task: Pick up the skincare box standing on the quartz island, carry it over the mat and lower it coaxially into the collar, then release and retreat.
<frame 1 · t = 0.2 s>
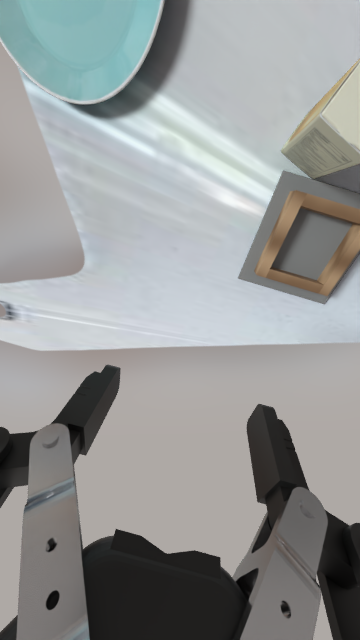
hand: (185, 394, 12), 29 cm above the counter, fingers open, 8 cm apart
mat: (305, 245, 32), on the counter
collar: (309, 247, 31), on the mat
skincare box: (308, 148, 27), on the counter
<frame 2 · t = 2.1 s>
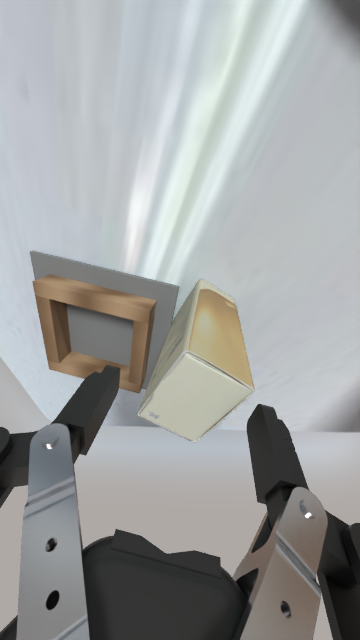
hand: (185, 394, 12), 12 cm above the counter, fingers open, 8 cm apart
mat: (104, 330, 25), on the counter
collar: (98, 338, 24), on the mat
skincare box: (202, 309, 22), on the counter
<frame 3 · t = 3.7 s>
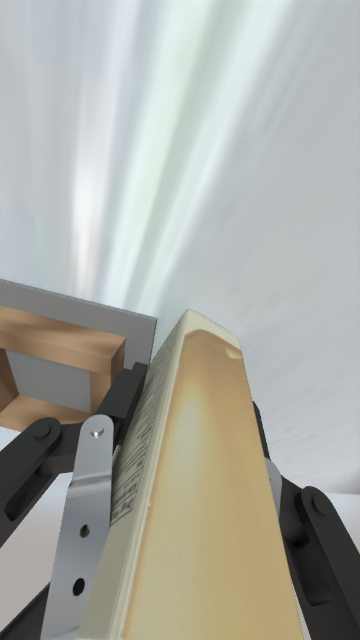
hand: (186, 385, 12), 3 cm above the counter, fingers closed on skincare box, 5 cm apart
mat: (59, 371, 18), on the counter
collar: (47, 385, 17), on the mat
skincare box: (192, 348, 15), on the counter, touching gripper
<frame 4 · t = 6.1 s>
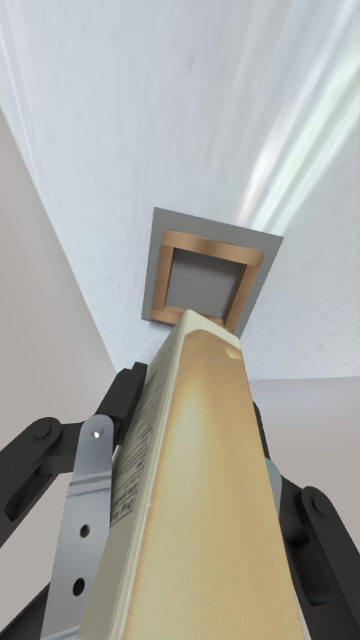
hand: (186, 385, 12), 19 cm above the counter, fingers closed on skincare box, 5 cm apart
mat: (202, 283, 29), on the counter
collar: (201, 287, 27), on the mat
skincare box: (192, 348, 15), point 16 cm above the counter, touching gripper
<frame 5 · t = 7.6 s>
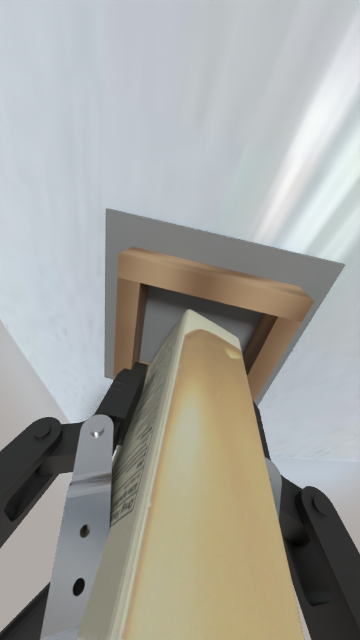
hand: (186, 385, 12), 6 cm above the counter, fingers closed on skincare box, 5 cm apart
mat: (195, 332, 18), on the counter
collar: (193, 343, 16), on the mat
skincare box: (192, 348, 15), point 3 cm above the counter, touching gripper
when the fingers open (5 cm above the counter, at t = 8.6 s): skincare box drops 1 cm, resting on mat.
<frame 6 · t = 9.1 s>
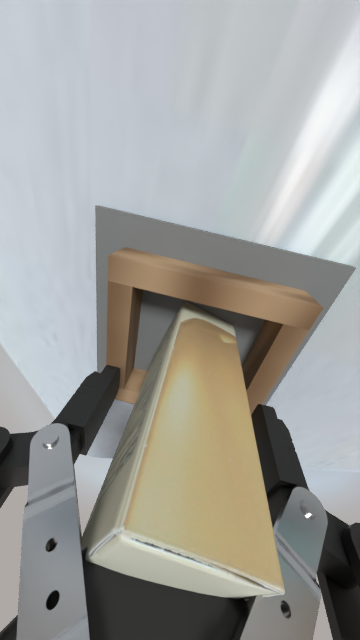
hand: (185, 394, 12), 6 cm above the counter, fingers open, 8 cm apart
mat: (193, 338, 17), on the counter
collar: (191, 351, 15), on the mat
skincare box: (191, 339, 16), resting on mat
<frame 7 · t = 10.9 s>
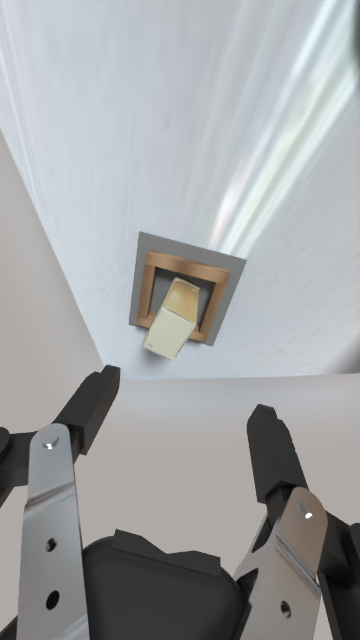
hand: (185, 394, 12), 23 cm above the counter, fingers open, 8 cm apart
mat: (181, 294, 34), on the counter
collar: (179, 298, 32), on the mat
skincare box: (180, 295, 33), resting on mat
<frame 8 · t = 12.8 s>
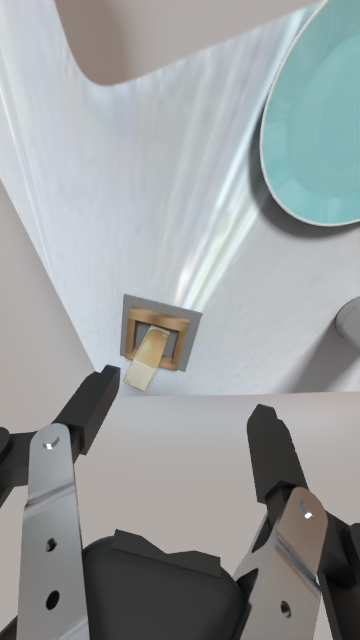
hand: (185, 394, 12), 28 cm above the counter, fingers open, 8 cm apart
mat: (157, 335, 45), on the counter
plate: (348, 127, 25), on the counter
collar: (155, 339, 43), on the mat
skincare box: (156, 335, 44), resting on mat
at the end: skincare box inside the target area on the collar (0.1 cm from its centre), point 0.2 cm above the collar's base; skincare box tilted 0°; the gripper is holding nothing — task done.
